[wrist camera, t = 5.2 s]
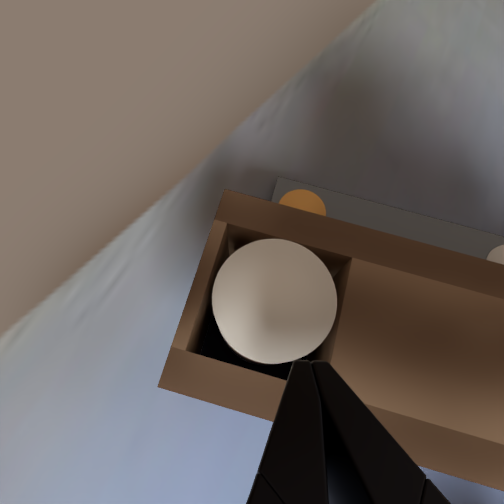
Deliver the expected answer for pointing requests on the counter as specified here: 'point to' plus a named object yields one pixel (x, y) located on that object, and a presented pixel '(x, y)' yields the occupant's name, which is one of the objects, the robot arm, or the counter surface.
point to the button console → (372, 335)
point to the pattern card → (389, 220)
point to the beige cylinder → (273, 302)
